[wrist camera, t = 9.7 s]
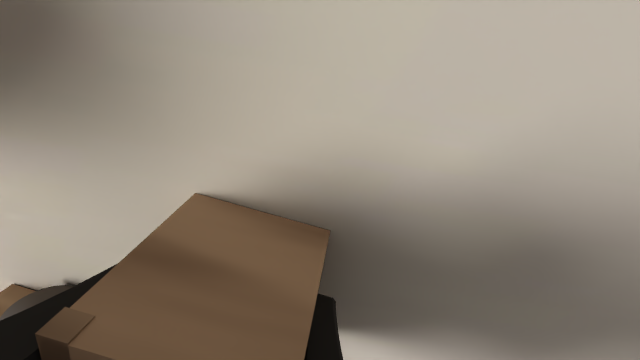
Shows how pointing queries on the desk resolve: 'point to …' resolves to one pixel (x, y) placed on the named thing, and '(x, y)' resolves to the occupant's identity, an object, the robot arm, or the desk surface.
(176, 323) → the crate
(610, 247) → the desk surface
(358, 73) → the desk surface
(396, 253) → the desk surface
